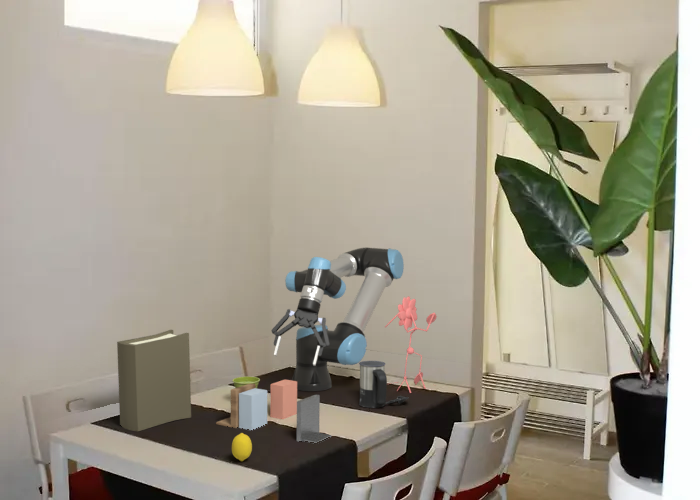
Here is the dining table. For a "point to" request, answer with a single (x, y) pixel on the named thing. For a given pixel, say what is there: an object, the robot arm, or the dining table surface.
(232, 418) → the shelf end
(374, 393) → the milk frother
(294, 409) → the red block
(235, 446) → the lemon
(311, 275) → the robot arm
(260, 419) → the blue block
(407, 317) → the pink daisy dancer statuette
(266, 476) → the dining table surface
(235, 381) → the plant pot
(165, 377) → the book
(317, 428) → the bookend
